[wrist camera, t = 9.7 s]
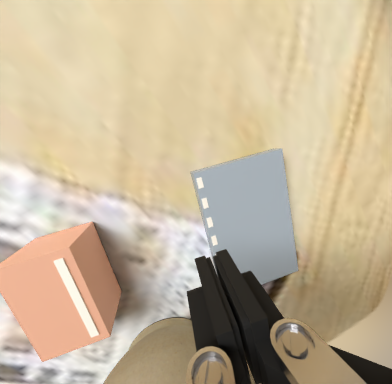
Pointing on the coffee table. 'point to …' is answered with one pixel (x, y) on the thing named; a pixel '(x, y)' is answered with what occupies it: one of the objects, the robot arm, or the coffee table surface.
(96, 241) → the peach rectangular block
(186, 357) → the planter bowl
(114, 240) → the coffee table surface
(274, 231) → the board
